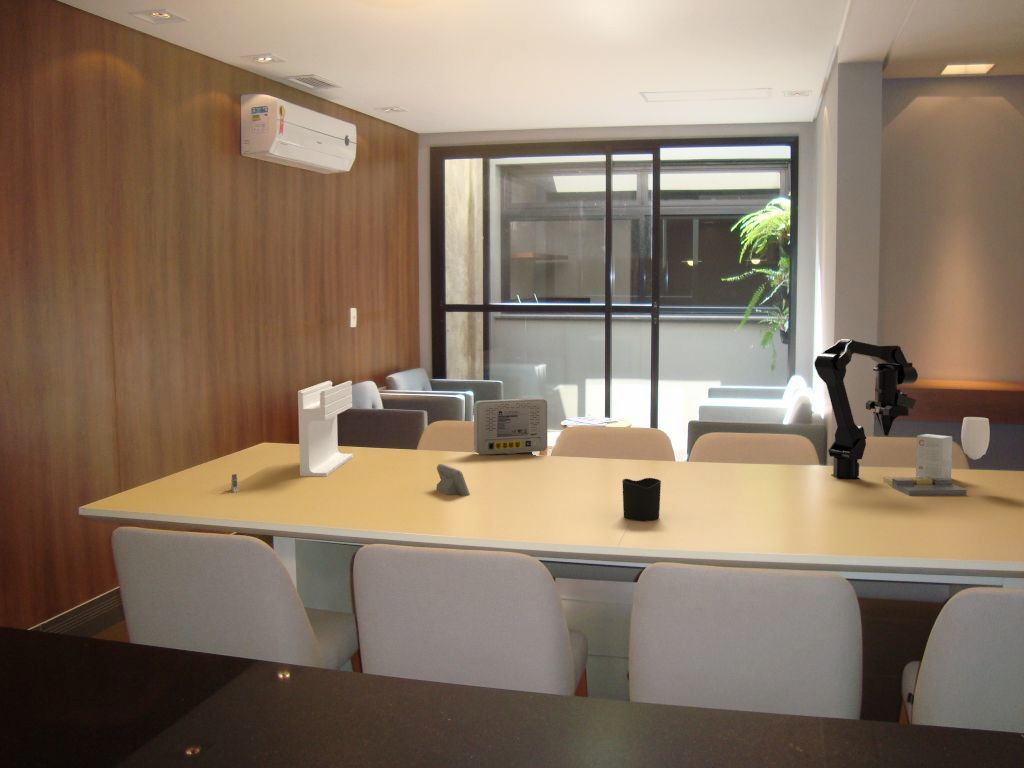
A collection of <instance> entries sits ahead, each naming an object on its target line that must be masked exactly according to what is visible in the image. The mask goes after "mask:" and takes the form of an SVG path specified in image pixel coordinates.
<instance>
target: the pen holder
mask: <svg viewBox="0 0 1024 768" xmlns="http://www.w3.org/2000/svg"><path fill="white" fill-rule="evenodd" d="M661 486H662V482H661V480H660V479H658V478H653V477H646V478H642V479H638V480H633V479H629V478H624V479H622V508H623V509H622V510H623V511H622V512H623V518H624V519H626V520H629V521H632V522H633V521H635V522H651V521H652V522H653V521H657V520H658V519H660V507H661Z"/></svg>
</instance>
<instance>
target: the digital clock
mask: <svg viewBox="0 0 1024 768" xmlns="http://www.w3.org/2000/svg"><path fill="white" fill-rule="evenodd" d="M436 471H437V473H438V477H439V479H440V481H438V483H436V491H438V492H439V493H443V494H445V495H447V496H451V495H461V496H463V497H465V496H466V497H467V496H470V495H471V493H470V492H469V488H468V486H467V483H466V480H465V477H464V474H463V472H462V471H461V470H460V469H458V468H455V467H452V466H449V465H446V464H442V463H439V464H438V465H437V467H436Z"/></svg>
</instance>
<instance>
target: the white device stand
mask: <svg viewBox="0 0 1024 768" xmlns="http://www.w3.org/2000/svg"><path fill="white" fill-rule="evenodd" d="M352 385H353V380H348V381H345V382H342V383H339V384H337V385H334V386H333V382H332V380H327V381H323V382H320V383H317V384H315V385H312V386H309V387H306V388H303V389H301V390H298V391H297V403H298V404H297V405H298V407H297V408H298V412H297V413H298V445H299V446H298V448H299V450H298V451H299V476H300V477H327V476H329V475H330V474H332V473H333V472H334V471H336V470H337V469H339V468H340V467H341V466H343V465H344V464H345V463H347V462H348V461H350V460H351V459H353V457H354V453H342V452H340V451H339V447H338V445H339V443H338V441H339V440H338V439H339V438H338V437H339V436H338V415H339V414H341V413H344V412H345V411H346V410H349V409H351V408H353V394H352V393H353V386H352Z"/></svg>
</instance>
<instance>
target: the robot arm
mask: <svg viewBox="0 0 1024 768" xmlns="http://www.w3.org/2000/svg"><path fill="white" fill-rule="evenodd" d="M853 355H856V356H857V355H858V356H863V357H869V358H870V359H871V360H872V361H874V362H877V363H878V364H876V366H875V367H873V369H872V370H873V372H877V387H875V388H874V392H876V393H877V396H876V399H875V400H874V399H871V400H869V399H868V400H867V401H866V402H865V409H866V410H868V411H869V410H872V409H873V410H875V411H873V412H872V414H873V415H874V417H875V419H876V420H877V423H878V426H879V428H880V430H881V433H882V434H883V436H886V437H888V436H889V435H890V431H891V429H892V427H893V423H894V420H896V419H897V418H898V417H904V416H905V417H909V416H910V410H914V408H915V406H916V403H917V400H918V399H915V398H912V397H909V396H908V394H907V393H905V392H902V391H901V389H900V388H898V386H900V385H911V384H914V383H915V382H916V381H918V376H919V374H918V370H917V369H916V368H915V367H914V366H913V362H908V360H907V358H906V356H905V355H904V353H903V350H902V347H901V346H899V345H894V344H872V343H866V342H861V341H857V340H855V339H846V338H843V339H840V340H838V341H837V342H836V343H835V344H833V345H832V346H829V347H827V348H825V349H824V350H823V351H822V352H821V353H820V354H818V355H817V357H816V358H815V360H814V368H815V370H816V372H817V375H818V377H819V378H820V379H821V380H822V381H823V382H824V383H825V385H826V388H827V391H828V397H829V401H830V404H831V406H832V407H831V408H832V411H833V415H834V418H835V422H836V423H835V424H836V426H837V428H836V430H835V433H834V441H833V443H832V444H831V446H830V448H829V449H828V451H827V452H828V454H829V457H832V458H833V469H832V470H833V472H832V473H831V474H830V476H832V477H833V478H835V479H837V480H860V477H859V475H860V463H859V460H863V457H864V454H865V449H866V446H867V436H866V434H865V428H864V426H860V425H857V424H856V423H855V421H854V416H853V413H852V412H853V411H852V409H851V405H850V401H849V397H848V393H847V389H846V386H845V381H844V379H845V377H846V373H847V366H848V364H849V363H850V362H851V361H852V357H853Z"/></svg>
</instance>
